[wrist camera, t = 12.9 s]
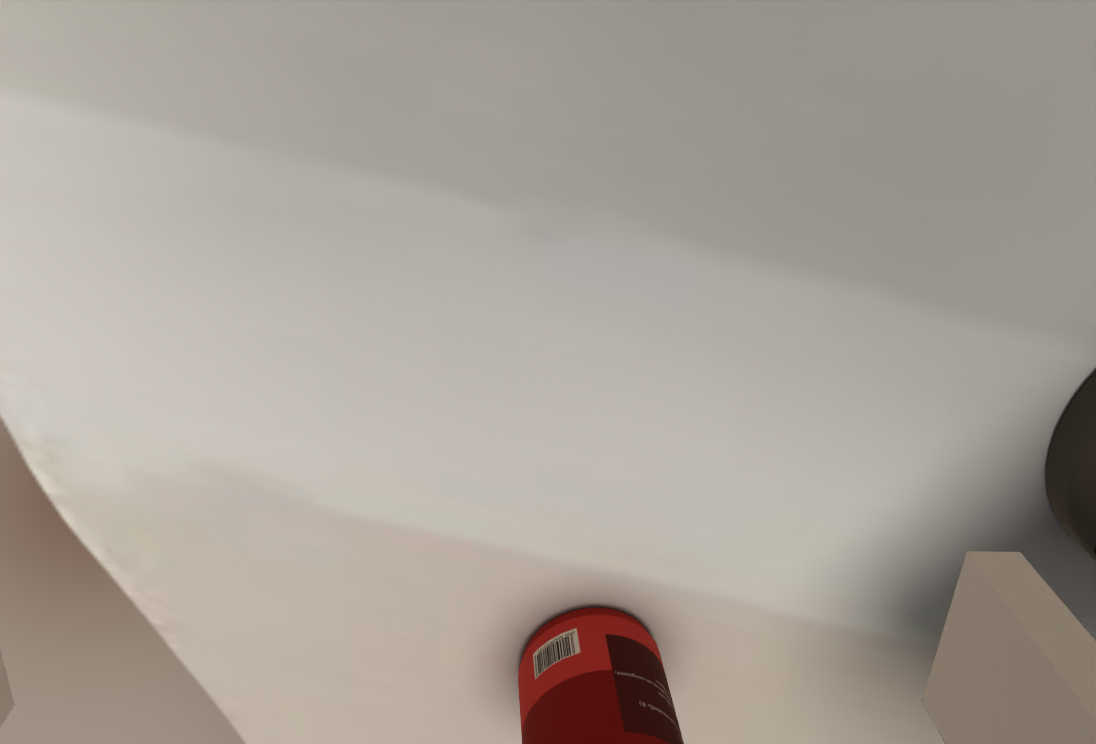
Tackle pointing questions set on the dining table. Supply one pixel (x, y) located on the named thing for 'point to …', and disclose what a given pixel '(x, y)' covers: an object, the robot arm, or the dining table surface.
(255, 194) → the dining table surface
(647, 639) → the canned food
